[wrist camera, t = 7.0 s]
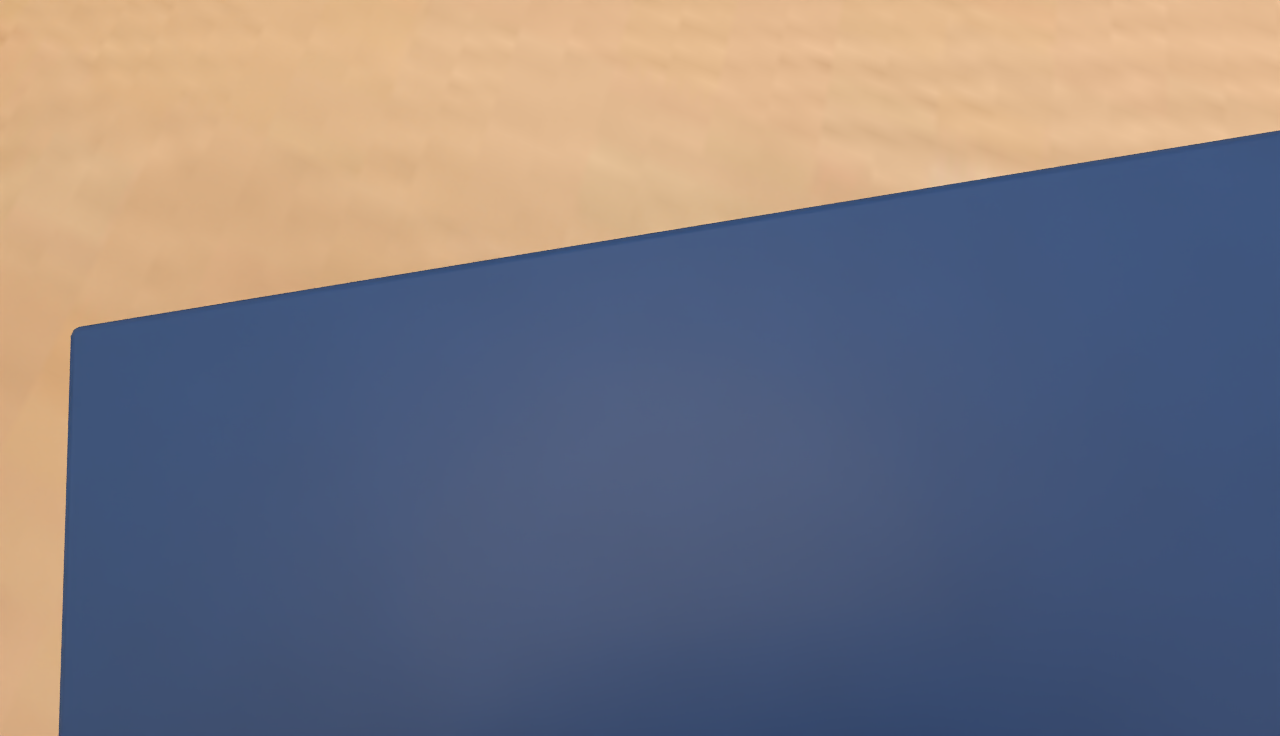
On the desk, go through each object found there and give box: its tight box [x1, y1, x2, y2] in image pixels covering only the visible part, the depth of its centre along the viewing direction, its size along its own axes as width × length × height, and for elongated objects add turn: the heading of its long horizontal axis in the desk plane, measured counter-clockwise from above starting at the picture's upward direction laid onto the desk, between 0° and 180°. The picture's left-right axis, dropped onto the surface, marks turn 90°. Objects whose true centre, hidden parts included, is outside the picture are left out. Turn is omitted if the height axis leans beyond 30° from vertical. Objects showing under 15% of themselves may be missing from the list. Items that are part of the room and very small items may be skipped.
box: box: [59, 131, 1280, 736], centre depth 8 cm, size 6×6×11 cm
